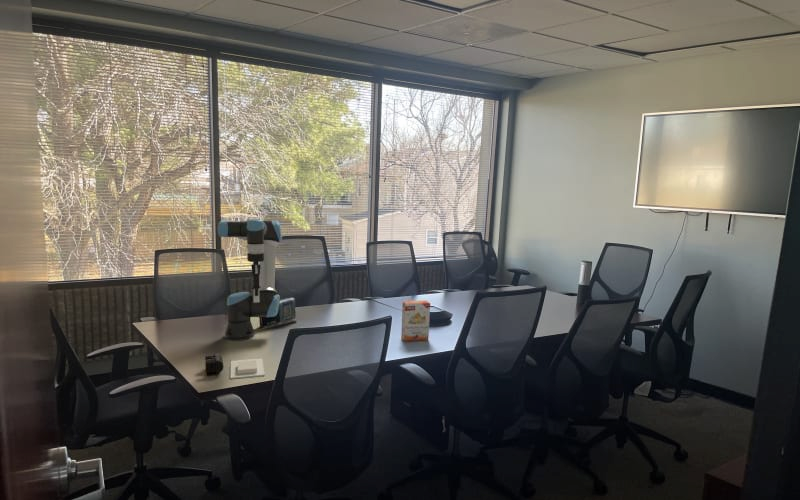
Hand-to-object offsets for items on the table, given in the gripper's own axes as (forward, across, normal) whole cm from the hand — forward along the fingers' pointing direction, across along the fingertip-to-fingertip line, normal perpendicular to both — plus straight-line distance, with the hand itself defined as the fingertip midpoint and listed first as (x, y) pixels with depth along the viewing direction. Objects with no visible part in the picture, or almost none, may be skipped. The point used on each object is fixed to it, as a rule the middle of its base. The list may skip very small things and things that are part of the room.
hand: (256, 301), depth 239 cm
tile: (+25, +18, -5) cm, 31 cm away
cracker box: (+27, -5, +82) cm, 86 cm away
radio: (+27, -48, +13) cm, 57 cm away
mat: (+26, +16, -5) cm, 31 cm away
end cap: (+27, +16, -19) cm, 36 cm away
